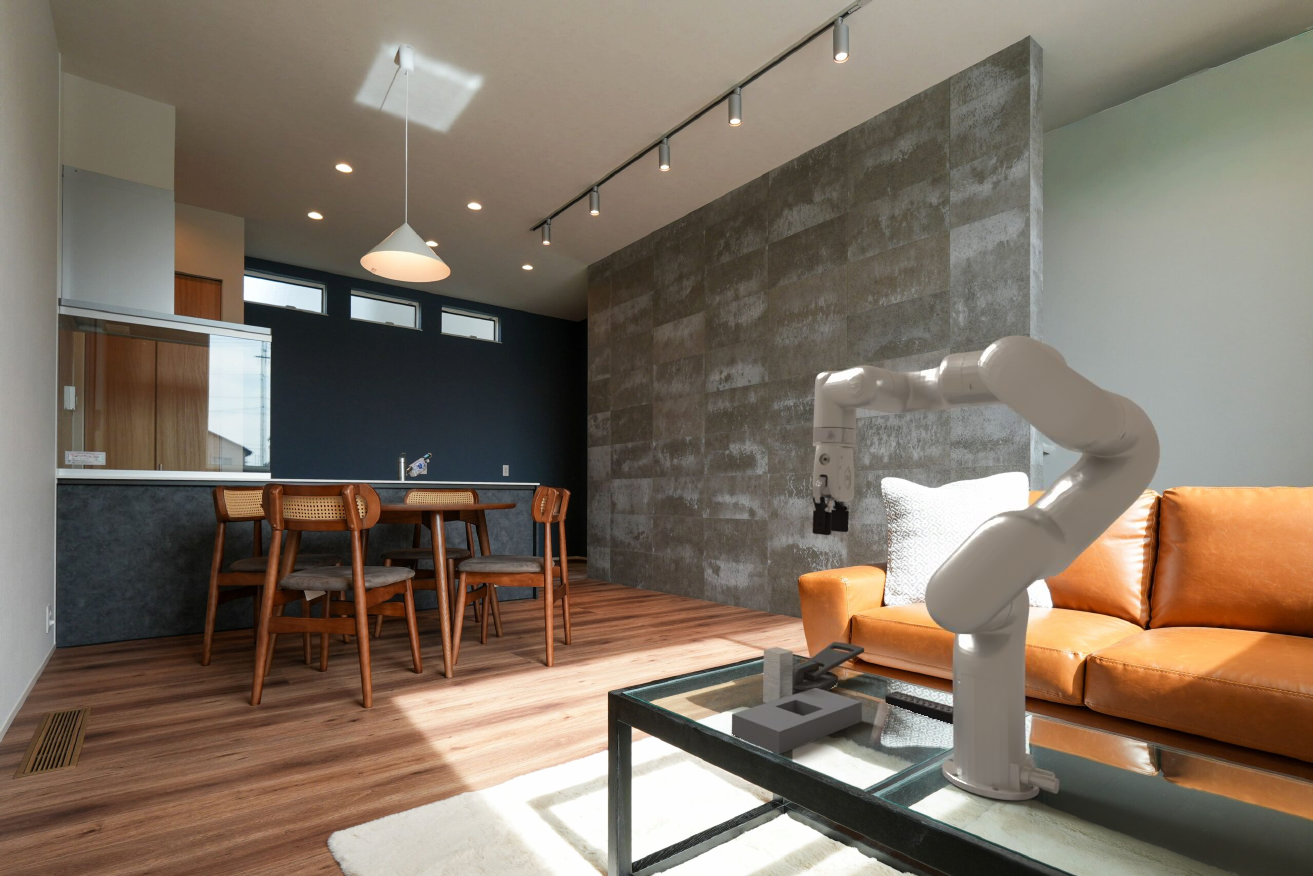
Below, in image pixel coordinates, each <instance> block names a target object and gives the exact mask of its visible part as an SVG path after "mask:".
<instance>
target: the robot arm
mask: <svg viewBox="0 0 1313 876" xmlns="http://www.w3.org/2000/svg"><path fill="white" fill-rule="evenodd" d="M1067 363H1068V362H1067V361H1066V358H1065V357H1064V356H1063V354H1062V353H1061V352H1060V351H1059V350H1058V349H1057V348H1054V347H1053V346H1051V345H1049V344H1047V343H1044V342H1042V341H1039V340H1037V339H1035V338H1033V337H1030V336H1026V335H1008V336H1005V337H1002V338H999V339H997V340H996V341H993V342H991V344H990V345H988V346H987V347H986V348H985V349H982V350H975V351H974V350H973V351H966V352H965V351H964V352H958V353H957V352H956V353H951V354H948V355H946V356H945V357H944V358H942V360H941V362H940V365H939V366H936V367H933V368H928V369H921V370H913V371H911V370H910V371H900V372H899V371H893V370H889V369H886V368H883V367H877V366H873V365H867V364H865V365H863V364H862V365H858V366H854V367H850V368H847V369H844V370H827V371H826V370H825V371H822V372H820V373H818V374H817V376H816V377H815V379H814V380H815V382H814V402H813V403H814V405H813V427H812V428H813V430H812V431H813V433H812V435H813V436H812V447H815V453H814V462H813V474H812V475H813V476H812V478H813V479H812V495H813V497H812V501H813V505H812V534H814V535H821V536H822V535H824V536H830V535H832V532H840V533H847V532H849V519H850V518H849V517H850V511H849V510H850V504H849V502H851V501H852V500H853V499H854V498H855V466H854V465H855V463H854V452H853V449H854V448H856V438H857V436H856V433H857V432H856V431H857V430H856V429H857V409H861V410H867V411H875V412H880V413H885V414H909V413H926V412H934V411H940V410H941V411H942V410H951V409H956V408H967V407H969V408H971V407H983V406H984V407H985V406H996V405H1005V406H1007V407H1008V408H1010V410H1011V411H1013V412H1015V413H1016V414H1017V415H1018V416H1020V418H1022V419H1023V420H1025V422H1027V423H1028V424H1029V425H1031V426H1032V427H1033V428H1034V429H1036V430H1037V431H1038V432H1039V433H1041V434H1042V435H1043V436H1044V437H1045V438H1047V439H1048V440H1050V441H1052V442H1053V443H1054V444H1055V445H1058V446H1059V447H1061V448H1063V449H1066V450H1068V451H1072V452H1074V453H1079V454H1080V453H1081V455H1080V458H1079V459H1078V461H1077V462H1076V463H1075V464H1074V465H1073V466H1071V467H1070V468H1069V469H1068V470H1066V471H1065V472H1064V473H1063V474H1061V475H1060V476H1058V478H1057V479H1056V480H1054V482H1053V483H1052V484H1051V485H1050V486H1049V487H1048V488H1047V489H1046V490H1045V491H1044V493H1043V494H1042V495H1040V496H1039V497H1038V498H1037V499H1036V500H1035V501H1034V502H1033V503H1032V504H1030V505H1029V506H1028V507H1026V508H1024V509H1022V510H1021V509H1020V510H1010V511H1009V510H1008V511H1003V512H999V513H998V514H995V515H993V516H991V517H989V518H988V519H987V520H985V521H983V522H982V523H981V524H980V525H979V526H978V527H977V528H975V530H974V531H973V532H971V534H970V535H969V536H968V537H967V538H966V539H965V540H964V541H962V543H961V544H960V545H959V546H958V547H957V548H956V549H955V550H954V552H952V554H950V556H949V557H948V558H946V559H945V561H944V562H942V563H941V565H939V567H938V568H937V569H936V571H935V572H933V574H932V575H931V576H930V578H929V580H928V583H927V585H926V588H925V592H924V598H925V599H924V602H925V608H926V610H927V612H928V615H929V617H930V618H931V619H932V621H933V622H934V623H935V624H936V625H938V626H939V627H940V628H942V629H943V630H945V631H947V632H949V633H953V634H954V638H953V647H952V707H953V725H952V737H953V738H952V741H953V742H952V743H953V744H952V747H953V748H952V749H953V751H952V752H953V753H952V755H953V756H951V757H948V758H946V759H945V760H943V762H942V763H941V772H942V774H943V776H944V777H945V779H946V780H948V781H949V782H950V783H951V784H953V785H955V786H956V787H958V788H960V789H962V790H964V791H967V792H969V793H972V794H974V795H975V794H976V795H978V796H981V797H986V798H990V799H996V800H1002V801H1003V800H1004V801H1025V800H1029V799H1032V798H1035V797H1036V796H1038V795H1039V793H1040V789H1041V790H1044V791H1047V792H1049V793H1052V794H1058V792H1059V791H1060V790H1059V789H1060V780H1059V778H1058V777H1057V778H1056V774H1055V772H1053V771H1050V770H1046V769H1041V768H1038V767H1037V765H1035V764H1034V755H1033V754H1031V753H1027V745H1026V744H1027V741H1026V737H1027V736H1026V731H1027V730H1026V640H1027V632H1028V626H1029V625H1028V624H1029V615H1030V596H1029V590H1028V588H1029V587H1030V586H1031V585H1033V584H1034V583H1035V582H1036V581H1041V580H1046V579H1049V578H1053V577H1056V576H1058V575H1060V574H1061V573H1064V572H1065V571H1066V570H1067V569H1068V568H1069V567H1070V566H1071V565H1072V563H1074V562H1075V561H1076V559H1078V558H1079V557H1080V556H1081V555H1082V553H1084V552H1085V551H1086V550H1087V549H1088V548H1089V547H1090V546H1092V544H1093V543H1094V542H1096V541H1097V540H1098V539H1099V538H1100V537H1101V536H1102V535H1103V534H1104V533H1106V531H1107V530H1108V529H1109V528H1110V527H1111V526H1112V525H1113V524H1114V523H1115V522H1116V521H1117V520H1118V519H1119V518H1120V517H1121V516H1122V515H1123V514H1124V513H1125V512H1127V510H1129V509H1130V508H1131V507H1132V506H1133V505H1134V504H1135V503H1136V501H1138V499H1139V498H1140V497H1141V496H1142V495H1143V494H1144V492H1145V491H1146V490H1147V489H1148V487H1149V486H1150V484H1151V482H1152V481H1153V480H1154V477H1155V475H1156V473H1157V469H1158V466H1159V463H1160V456H1161V455H1160V454H1161V453H1160V452H1161V446H1160V439H1159V437H1158V433H1157V431H1156V429H1155V428H1156V427H1155V425H1154V423H1153V421H1152V420H1151V418H1150V417H1149V416H1148V414H1147V413H1146V411H1145V410H1144V409H1142V407H1141V406H1140V405H1138V404H1137V403H1136V402H1135V401H1132V399H1130V398H1128V397H1125V396H1123V395H1121V394H1119V393H1116V392H1112V391H1109V390H1106V389H1103V388H1101V387H1100V386H1098V385H1097V384H1095V383H1093V381H1090V380H1089V379H1088V378H1086V377H1085V376H1083V375H1082V374H1080V373H1079V372H1077V371H1075V370H1074V369H1073V368H1071V367H1070V366H1069V365H1068V364H1067ZM831 508H832V509H831Z"/></svg>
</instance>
